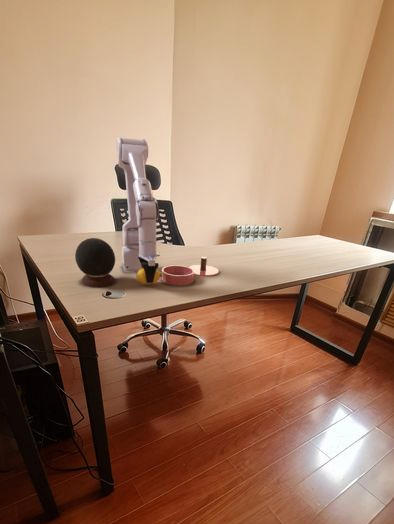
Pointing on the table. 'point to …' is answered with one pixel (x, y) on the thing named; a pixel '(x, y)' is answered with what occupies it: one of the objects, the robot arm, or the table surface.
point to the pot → (177, 279)
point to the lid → (204, 268)
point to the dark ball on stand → (95, 262)
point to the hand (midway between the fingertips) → (148, 279)
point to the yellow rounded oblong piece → (142, 277)
